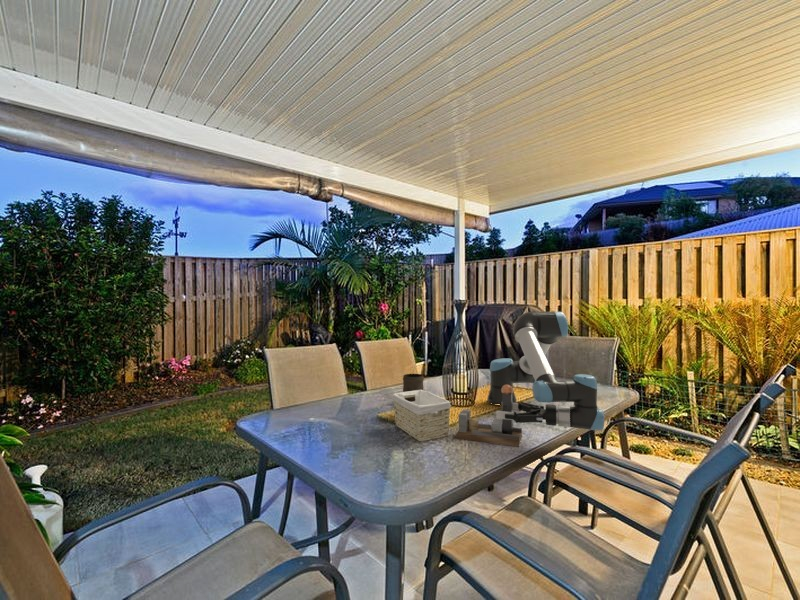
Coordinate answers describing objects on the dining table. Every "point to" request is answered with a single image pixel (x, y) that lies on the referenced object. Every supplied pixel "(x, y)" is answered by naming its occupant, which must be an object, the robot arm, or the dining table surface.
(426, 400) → the storage basket
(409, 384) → the beer stein
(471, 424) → the tan rounded cylinder
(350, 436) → the dining table surface
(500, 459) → the dining table surface
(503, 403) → the handle
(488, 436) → the base
